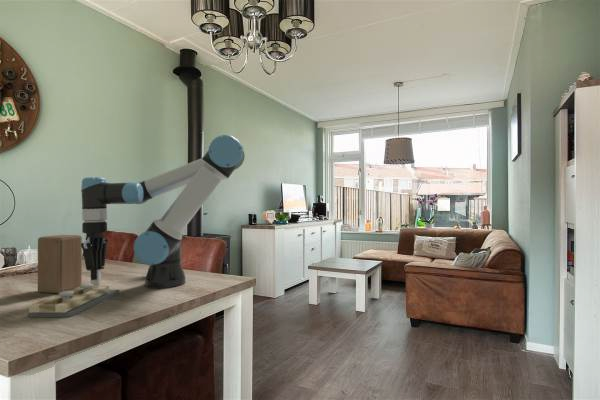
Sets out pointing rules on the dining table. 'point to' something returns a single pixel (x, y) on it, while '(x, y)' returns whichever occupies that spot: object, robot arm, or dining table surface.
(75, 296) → the panel
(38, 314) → the boss board
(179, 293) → the dining table surface
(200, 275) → the dining table surface
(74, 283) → the wooden block
